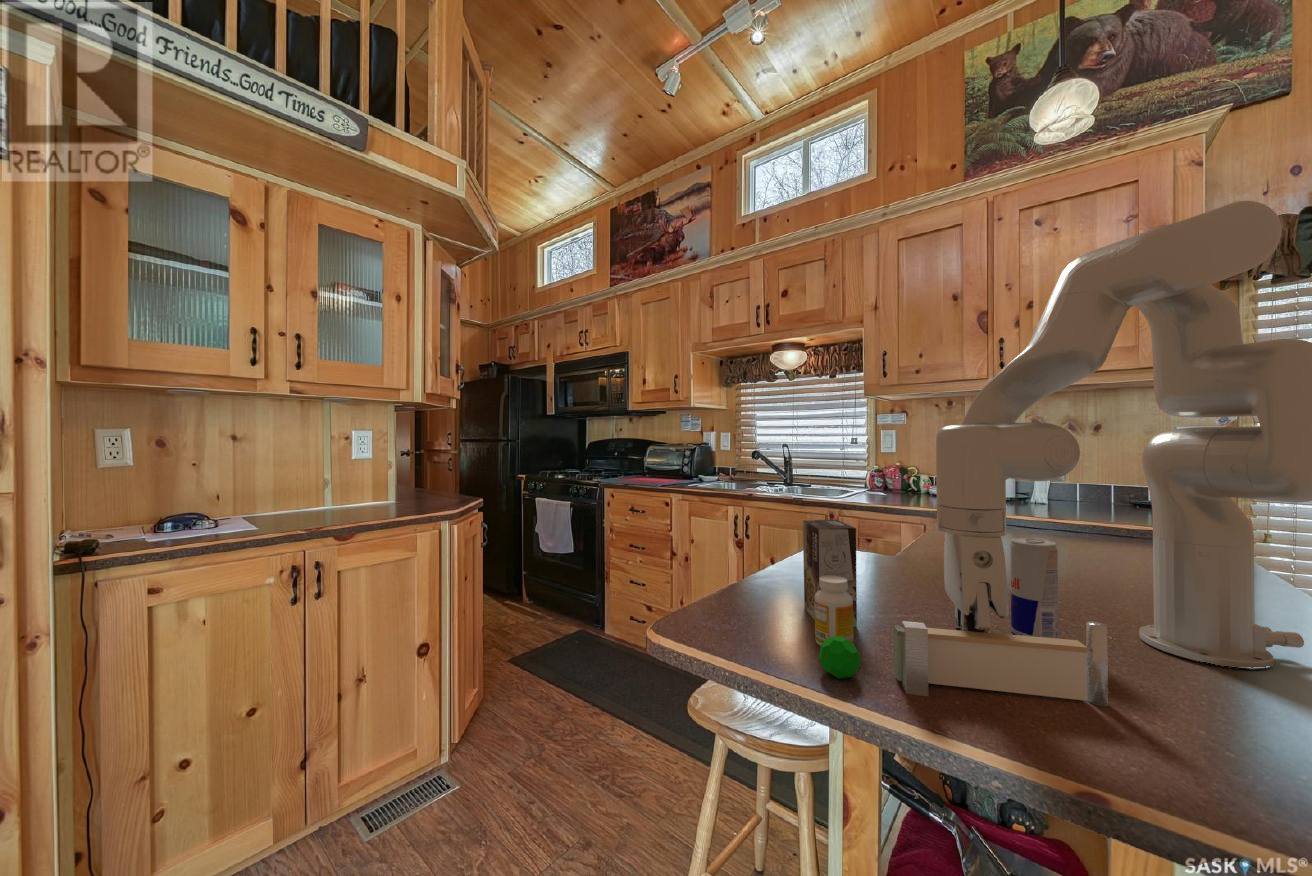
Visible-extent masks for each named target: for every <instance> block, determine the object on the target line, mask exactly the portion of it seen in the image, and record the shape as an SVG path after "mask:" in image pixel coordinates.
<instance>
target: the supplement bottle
mask: <svg viewBox="0 0 1312 876" xmlns="http://www.w3.org/2000/svg"><path fill="white" fill-rule="evenodd" d="M819 587H820V588H821V590H819V591H817V592H816V594H815V620H814V639H815V642H816V644H817V645H818V646H820V647H821V644H822V643H823V642H824V641H825V640H826V639H828V638H831V637H839V636H841V637H843V638H845V639H846V640H848V641H850V642H851V643H853V644H854V627H853V600H852V597H851V596H850V595H849V594H848V593H847V592H846V591H847V588H848V583H847V579H846V578H843V577H840V576H832V575H826V576H821V577H820V578H819Z"/></svg>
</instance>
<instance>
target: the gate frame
mask: <svg viewBox="0 0 1312 876" xmlns="http://www.w3.org/2000/svg"><path fill="white" fill-rule="evenodd" d="M901 626H902V671H903V681H902V688H903V690H904V692H905V694H906V695H913V696H923V697H929V683H928V629H927V628H928V627H927V626H926V624H925V623H924V622H917V621H907V620H902V621H901ZM1085 626H1086V627H1085V631H1086V632H1085V635H1086V636H1085V637H1086V639H1085V640H1086V641H1085V642H1086V645H1085V646H1086V647H1087V648H1088V653H1087V702H1088V703H1090V704H1092V705H1094V706H1098V707H1108V706H1109V672H1108V671H1109V669H1108V667H1109V665H1108V663H1109V662H1108V659H1109V657H1108V654H1109V653H1108V650H1109V649H1108V648H1109V647H1108V625H1107V624H1105V623H1103V622H1100V621H1099V622H1098V621H1094V620H1093V621H1092V620H1091V621H1090V620H1089V621H1088V620H1087V621H1085Z"/></svg>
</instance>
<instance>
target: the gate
mask: <svg viewBox="0 0 1312 876" xmlns="http://www.w3.org/2000/svg"><path fill="white" fill-rule="evenodd" d="M927 629H928V684H933V685H943V686H950V687H957V688H958V687H959V688H968V689H977V690H978V689H979V690H986V691H996V692H1004V693H1005V692H1006V693H1014V694H1022V695H1030V696H1031V695H1034V696H1042V697H1050V698H1060V699H1069V700H1079V701H1086V702H1088V700H1087V653H1088V648H1087V647H1086V645H1085V644H1084V643H1082V642H1080V640H1077V639H1066V638H1058V639H1056V638H1044V637H1032V636H1020V635H1013V634H1007V633H997V632H996V633H994V632H993V633H992V632H988V633H984V632H972V631H960V630H956V629H947V628H946V629H945V628H933V627H927ZM893 643H894V644H893V649H894V650H893V652H894V653H893V654H894V656H893V658H894V659H893V660H894V666H893V667H894V675H895V677H896V679H897V681H898V682H903V671H902V625H899V624H894V625H893Z"/></svg>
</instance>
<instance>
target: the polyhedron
mask: <svg viewBox="0 0 1312 876" xmlns="http://www.w3.org/2000/svg"><path fill="white" fill-rule="evenodd" d="M818 659H819V662H820V663H821V666H822V668H823V670H824V671H826V672H827V673H829V674H830V675H832V676H833V677H835V678H837V679H848V678H852V677H853V676H854V675H855V674H856V673H857V672H858V671H859V670H860V669H859V668H860V666H861V656H860V653H859V652H858V650H857V648H856V646H855V643H854V642H853V643H851V642H850V641H848V640H846V639H845V638H843V637H841V636H839V637H831V638H828V639H826V640H825V641H824V642H823V643H822V644H821V646H820V647H819V655H818Z"/></svg>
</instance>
